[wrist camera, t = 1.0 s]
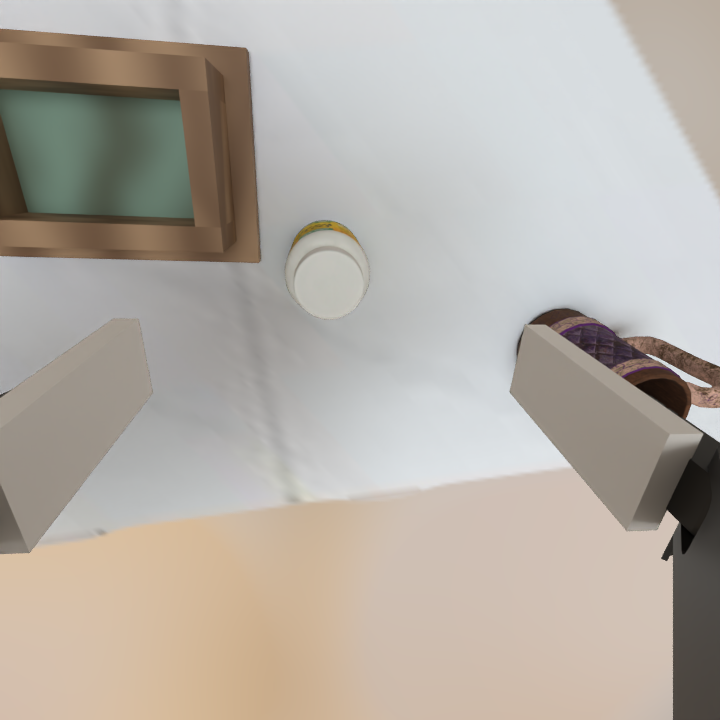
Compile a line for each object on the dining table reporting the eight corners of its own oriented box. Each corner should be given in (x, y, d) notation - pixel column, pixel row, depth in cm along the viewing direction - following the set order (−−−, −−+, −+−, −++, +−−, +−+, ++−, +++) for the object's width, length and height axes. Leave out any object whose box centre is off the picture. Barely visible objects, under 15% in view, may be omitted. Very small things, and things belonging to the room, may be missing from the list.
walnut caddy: (6, 253, 29) (-58, 270, 24) (-65, 28, 24) (-167, -10, 19) (260, 260, 31) (249, 277, 26) (248, 52, 26) (231, 23, 21)
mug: (514, 385, 38) (592, 471, 27) (514, 315, 35) (602, 380, 24) (621, 364, 38) (741, 441, 27) (630, 292, 35) (769, 346, 24)
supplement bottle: (321, 302, 33) (322, 349, 24) (276, 249, 31) (259, 280, 22) (374, 260, 32) (394, 294, 23) (331, 203, 30) (335, 216, 21)
